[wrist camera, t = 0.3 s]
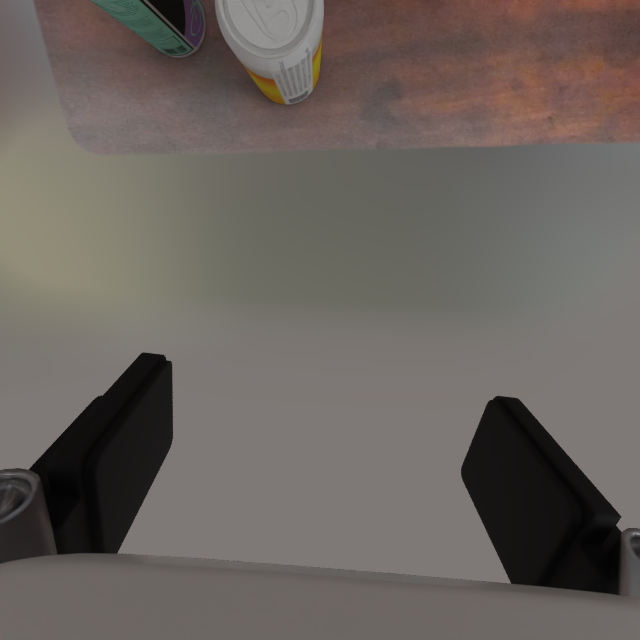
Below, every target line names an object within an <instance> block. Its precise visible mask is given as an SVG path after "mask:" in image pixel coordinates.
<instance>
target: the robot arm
mask: <svg viewBox="0 0 640 640" xmlns="http://www.w3.org/2000/svg"><path fill="white" fill-rule="evenodd" d="M172 404H173V402H172V362H171V361H167V360H166V357H165V356H164V355H160V354H152V353H142V354H140V355H139V356H138V358H137V359H136V360H135V361H134V362H133V363H132V364H131V365H130V367H128V369H127V370H126V371H125V372H124V373H123V374H122V375H121V376H120V377H119V379H118V380H117V381H116V382H115V383H114V384H113V385H112V386H111V387H110V388H109V389H108V391H107V392H106V393H105V394H104V395H103V396H98V397H97V398H95V400H93V401H92V402H91V403H90V404H89V405H88V407H87V408H86V409H85V410H84V411H83V412H82V413H81V414H80V415H79V416H78V417H77V418H76V419H75V420H74V421H73V423H72V424H71V425H70V426H69V427H68V428H67V429H66V430H65V431H64V432H63V433H62V434H61V436H60V437H59V438H58V439H57V440H56V441H55V442H54V443H53V444H52V445H51V446H50V447H49V448H48V449H47V450H46V452H45V453H44V454H43V455H42V456H41V457H40V458H39V459H38V460H37V461H36V462H35V463H34V464H33V465H32V467H31V468H30V469H29V470H26V469H20V468H16V469H4V470H0V640H640V529H638V528H628V529H626V530H624V531H623V532H621V531H620V530H619V529H618V527H617V526H616V524H617V523H618V521H619V520H620V518H621V516H620V515H619V514H618V512H617V511H616V510H615V509H614V508H613V507H612V505H611V504H610V503H609V502H608V501H607V500H606V499H605V498H604V496H603V495H602V494H601V493H600V492H599V490H597V488H596V487H595V486H594V485H593V484H592V482H591V481H590V480H589V479H588V478H587V477H586V476H585V474H584V473H583V472H582V471H581V470H580V469H579V467H578V466H577V465H576V464H575V463H574V462H573V461H572V459H571V458H570V457H569V456H568V455H567V454H566V453H565V452H564V450H563V449H562V448H561V447H560V446H559V445H558V443H557V442H556V441H555V440H554V439H553V438H552V436H551V435H550V434H549V433H548V432H547V431H546V430H545V429H544V427H543V426H542V425H541V424H540V423H539V422H538V420H537V419H536V418H535V417H534V416H533V415H532V414H531V412H530V411H529V410H528V409H527V408H526V407H525V405H524V404H523V403H522V402H521V401H520V400H519V399H517V398H511V397H502V396H496V397H495V398H494V399H493V400H490V401H489V402H488V403H487V406H486V408H485V410H484V413H483V415H482V418H481V421H480V423H479V425H478V428H477V430H476V433H475V435H474V438H473V440H472V443H471V446H470V447H469V450H468V453H467V455H466V457H465V460H464V462H463V465H462V468H461V476H462V479H463V482H464V484H465V486H466V488H467V490H468V492H469V494H470V497H471V499H472V501H473V503H474V505H475V507H476V509H477V512H478V514H479V516H480V518H481V520H482V522H483V524H484V526H485V529H486V531H487V533H488V535H489V537H490V539H491V541H492V543H493V546H494V548H495V550H496V552H497V554H498V556H499V558H500V560H501V563H502V564H503V567H504V569H505V571H506V573H507V575H508V578H509V579H510V582H511V584H507V583H497V582H486V581H474V580H463V579H452V578H440V577H428V576H416V575H404V574H393V573H381V572H369V571H356V570H344V569H332V568H319V567H307V566H294V565H280V564H268V563H255V562H242V561H229V560H215V559H202V558H187V557H170V556H152V555H136V554H117V553H118V550H119V549H120V547H121V545H122V543H123V541H124V538H125V537H126V535H127V533H128V530H129V529H130V527H131V525H132V523H133V521H134V519H135V517H136V515H137V513H138V511H139V509H140V507H141V505H142V503H143V501H144V499H145V497H146V495H147V493H148V491H149V489H150V487H151V485H152V483H153V481H154V479H155V477H156V475H157V473H158V471H159V469H160V467H161V465H162V463H163V461H164V459H165V457H166V455H167V453H168V451H169V449H170V447H171V444H172V439H173V405H172Z"/></svg>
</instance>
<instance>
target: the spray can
mask: <svg viewBox="0 0 640 640" xmlns="http://www.w3.org/2000/svg"><path fill="white" fill-rule="evenodd" d="M91 1H92V2H93V3H95V4H96V5H97V6H99V7H100V8H101V9H103V10H104V11H106V12H107V13H108V14H110V15H111V16H112V17H114V18H115V19H117V20H118V21H119V22H121V23H122V24H123V25H125V26H126V27H128V28H129V29H130V30H132V31H133V32H134V33H136V34H137V35H139V36H140V37H141V38H143V39H144V40H145V41H147V42H148V43H150V44H151V45H152V46H154V47H155V48H156V49H158V50H159V51H161V52H162V53H164V54H166V55H168V56H171V57H175V58H185V57H188V56H190V55H192V54H193V53H195V52H196V51H197V50H198V49H199V47H200V46H201V44H202V42H203V40H204V37H205V31H206V19H205V14H204V10H203V7H202V5H201V3H200V1H199V0H91Z"/></svg>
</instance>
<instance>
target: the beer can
mask: <svg viewBox="0 0 640 640" xmlns="http://www.w3.org/2000/svg"><path fill="white" fill-rule="evenodd" d="M215 10H216V16H217V21H218V24H219V27H220V30H221V32H222V35H223V37H224V39H225V40H226V42H227V44H228V45H229V47H230V48H231V49H232V51H233V52H234V54H235V55H236V56H237V58H238V59H239V61H240V62H241V63H242V65H243V66H244V68H245V69H246V70H247V72H248V73H249V74H250V76H251V77H252V79H253V80H254V81H255V83H256V84H257V86H258V87H259V88H260V90H261V91H262V92H263V93H264V95H266V96H267V97H268V98H269V99H271V100H272V101H274V102H276V103H279V104H285V105H290V104H295V103H298V102H300V101H302V100H304V99H305V98H306V97H308V96H309V95H310V93H311V92H312V91H313V89H314V88H315V86H316V84H317V81H318V78H319V74H320V63H321V47H322V31H323V16H324V0H215Z"/></svg>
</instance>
